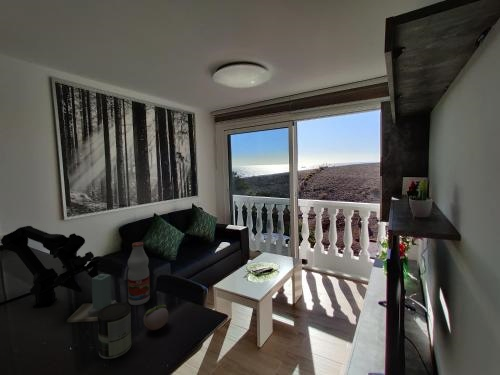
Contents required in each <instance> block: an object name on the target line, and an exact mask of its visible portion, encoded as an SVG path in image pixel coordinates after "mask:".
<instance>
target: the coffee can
mask: <svg viewBox="0 0 500 375" xmlns="http://www.w3.org/2000/svg"><path fill="white" fill-rule="evenodd" d="M131 307H132V305H131V304H130V303H129V302H118V303H114V304H110V305H108V306H105V307H104V308H102V309H101V310H100V311H99V312H98V314H97V318H98V321H97V330H98V331H97V332H98V333H97V334H98V355H99V357H100V358H101V359H105V360H111V359H117V358H119V357H121V356H123V355H125V354H126V353H127V352H129V350H130V349H131V347H132V327H131V326H132V325H131V323H132V321H131V320H132V318H131V310H132V308H131Z"/></svg>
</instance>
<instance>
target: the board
mask: <svg viewBox="0 0 500 375" xmlns="http://www.w3.org/2000/svg"><path fill="white" fill-rule="evenodd" d="M114 303H119V302H117V300H115V299H114V300H112V304H114ZM100 310H101V309H95V308H93V302H92V303H90V302H89V303H82V304H81V305H80V306H79V307H78V308H77V309H76V310H75V312H74V313H73V314H71V315H70V316H69V317H68V318H67V320H66V322H67V323H85V322H98V318H97V314H98V312H99V311H100Z"/></svg>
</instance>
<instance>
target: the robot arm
mask: <svg viewBox="0 0 500 375" xmlns="http://www.w3.org/2000/svg"><path fill="white" fill-rule="evenodd" d="M29 240H32V241H35V242H36V243H40V244H42V247H43V248H44V249H46V250H47V251H49V252H53V251H54V252H53V254H54V255H52V256H53V257H52V258H53V259H56V258H58V260H59V261H60V262H61V264H62V265H63V266H61V267H62V268H63V269H66V270H67V271H65V272H62V273H57V271H56V270H55V269H54V268H53V267H51V268H46V267H45V265H44V264H43V263H42V262H41V261H40V259H39V258H38V256H37V255H36V254H35V252H33V250H32V248H31V247H30V246H29ZM0 243H1V246H3V247H4V248H6V250H8V251H10V252H13V253H15V254H16V255H17V256H18V258H19V259H20V260H21V262H22V263H23V264H24V265H25V266H26V268H27V269H28V271H29V273H31V275H32V276H33V280H32V283H33V286H32V287H31V288H30V290H29V291H30V294H31V295H34V296H35V299H34V300H35V304H34V305H33V306H32V307H33V308H43V307H45V308H47V307H50V306H51V305H52V304H53V303H54V302H56V301H57V300H58V298H57V297H56V291H55V288H59V287H60V288H62V287H64V288H66V289H70V290H73V291H75V292H78V293H82V292H83V290H82V288H81V287H80V285H79V284H78V283H77V281H76V280H75V276H77V275H79V274H81V273H84V272H87V275H88V276H89V277H90V278H91V279H92V278H94V277H96V276H98V275H99V271H98V268H99V266H100V264H101V263H102V261H101V260H100V259H99V258H95V259H94V257H95V255H94V254H93V252H92V251H91V250H90V251H88V252H85V254H84V255H83V256H81V255H76V254H77V252H78V251H79V250H80V249H81V248H82V246H84V244H86V240H85V238H84V237H83V236H81V235H77V234H76V233H70V234H69V236H66V235H64V234H60V233H49V232H46V231H43V230H41V229H39V228H35V227H33V226H32V225H26V226H21V227H19V228H17V229H15V230H14V231H11V232H9V233H7V234H4V235H2V238H1V239H0ZM55 250H57V251H55Z"/></svg>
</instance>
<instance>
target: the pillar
mask: <svg viewBox="0 0 500 375" xmlns="http://www.w3.org/2000/svg"><path fill="white" fill-rule="evenodd" d="M91 296H92V297H91V298H92V301H91V302H92V303H93V308H95V309H102V308H104V307H105V306H108V305H110V304H112V301H113V300H112V298H113V297H112V277H111V274H106V273H100V274H99V273H98V276H96V277H94V278H92V277H91Z"/></svg>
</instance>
